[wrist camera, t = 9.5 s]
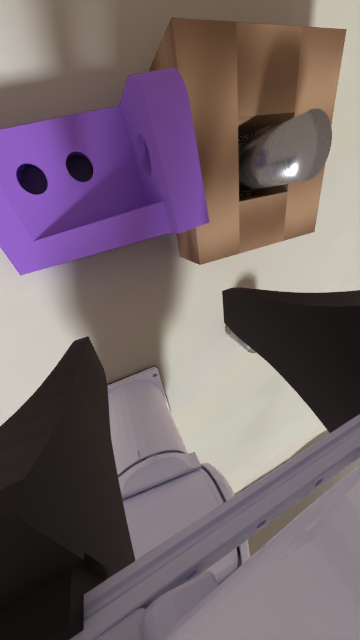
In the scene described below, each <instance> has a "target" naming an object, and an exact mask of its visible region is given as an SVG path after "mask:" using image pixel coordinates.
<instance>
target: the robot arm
mask: <svg viewBox="0 0 360 640" xmlns="http://www.w3.org/2000/svg"><path fill="white" fill-rule="evenodd" d="M222 294H223V310H224V323H225V324H226V325H227V326H228V328H229V329H230V330H231V331H232V332H233V333H234V334H235V335H236V336H237V337H238V338H239V339H241V340H242V341H243V342H244V343H245V344H247V345H248V346H249V347H250V348H252V349H253V350H254V351H255V352H257V353H258V354H259V355H260V356H261V357H263V358H264V359H265V360H266V361H267V362H268V363H269V364H271V365H272V366H273V367H274V369H275V370H276V371H277V372H278V373H279V374H280V375H281V376H282V377H283V378H284V379H285V380H286V381H287V382H288V383H289V384H290V385H291V386H292V387H293V389H294V390H295V391H296V392H297V393H298V394H299V395H300V397H301V398H302V399H303V400H304V401H305V402H306V404H307V405H308V406H309V407H310V408H311V409H312V411H313V412H314V413H315V414H316V416H317V417H318V418H319V420H320V421H321V422H322V423H323V425H324V426H325V427H326V428H327V430H328V431H329V432H330V434H328V435H327V436H325V437H324V438H322V439H321V440H319V441H318V442H316V443H315V444H313V445H312V446H310V447H308V448H307V449H305V450H304V451H302V452H301V453H299V454H298V455H296V456H295V457H293V458H292V459H290V460H289V461H287V462H286V463H284V464H282V465H281V466H279V467H278V468H276V469H275V470H273V471H272V472H270V473H269V474H267V475H266V476H264V477H263V478H261V479H260V480H258V481H257V482H255V483H253V484H252V485H250V486H249V487H247V488H246V489H244V490H243V491H241V492H240V493H238V494H237V495H234V492H233V491H232V489H231V487H230V485H229V483H228V482H227V480H226V479H225V478H224V476H223V475H222V474H221V473H220V472H219V471H218V470H217V469H215V468H214V467H213V466H212V465H211V464H209V463H203V464H200V462H199V460H198V458H197V456H196V454H195V452H193V453H189V454H188V453H187V450H186V448H185V446H184V444H183V441H182V439H181V437H180V434H179V432H178V430H177V428H176V425H175V423H174V421H173V418H172V416H171V412H170V409H169V406H168V402H167V399H166V395H165V392H164V389H163V385H162V382H161V378H160V375H159V372H158V369H157V368H156V367H152V368H149V369H147V370H144V371H142V372H139V373H137V374H135V375H132V376H130V377H127V378H125V379H122V380H120V381H117V382H115V383H112V384H110V385H108V386H107V382H106V377H105V372H104V368H103V366H102V364H101V362H100V360H99V358H98V356H97V354H96V352H95V350H94V347H93V345H92V343H91V341H90V339H89V337H85V338H82V339H79V340H76V341H74V342H73V343H72V345H71V346H70V347H69V349H68V350H67V352H66V353H65V354H64V356H63V357H62V359H61V360H60V361H59V363H58V364H57V366H56V367H55V368H54V370H53V371H52V372H51V373H50V375H49V376H48V377H47V378H46V380H45V381H44V382H43V383H42V385H41V386H40V387H39V388H38V389H37V390H36V392H35V393H34V394H33V395H32V396H31V397H30V398H29V399H28V400H27V401H26V402H25V403H24V404H23V405H22V406H21V408H20V409H19V410H18V411H17V412H16V413H15V414H13V415H12V416H11V417H10V418H9V419H8V420H7V421H6V422H5V423H4V424H3V425H2V426H0V640H360V465H358V466H357V467H356V468H355V469H353V470H352V471H351V472H350V473H348V474H347V475H346V476H345V477H343V478H342V479H341V480H340V481H338V482H337V483H336V484H335V485H334V486H332V487H331V488H330V489H329V490H327V492H325V493H324V494H323V495H321V496H320V497H319V498H318V499H317V500H316V501H315V502H313V503H312V504H311V505H310V506H309V507H307V508H306V509H305V510H304V511H303V512H302V513H300V514H299V515H298V516H297V517H296V518H295V519H294V520H292V521H291V522H290V523H289V524H288V525H287V526H286V527H284V528H283V529H282V530H281V531H280V532H279V533H278V534H277V535H275V536H274V537H273V538H272V539H271V540H270V541H269V542H267V543H266V544H265V545H264V546H263V547H262V548H261V549H259V550H258V551H257V552H256V553H255V554H254V555H253V556H252V557H250V553H249V547H248V539H249V538H250V537H252V536H253V535H254V534H256V533H257V532H258V531H260V530H261V529H263V528H264V527H265V526H267V525H268V524H269V523H271V522H272V521H273V520H275V519H276V518H277V517H279V516H280V515H282V514H283V513H284V512H286V511H287V510H288V509H290V508H291V507H292V506H294V505H295V504H297V503H298V502H299V501H301V500H302V499H303V498H305V497H306V496H307V495H309V494H310V493H311V492H313V491H314V490H315V489H317V488H318V487H320V486H321V485H322V484H324V483H325V482H326V481H328V480H329V479H331V478H332V477H333V476H335V475H336V474H337V473H339V472H340V471H341V470H343V469H344V468H345V467H347V466H348V465H350V464H351V463H352V462H354V461H355V460H356V459H358V458H359V457H360V290H358V291H347V292H330V293H294V292H279V291H268V290H259V289H249V288H230V289H227V290H224V291H222ZM154 374H155V375H154Z"/></svg>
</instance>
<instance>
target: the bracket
mask: <svg viewBox="0 0 360 640" xmlns="http://www.w3.org/2000/svg"><path fill="white" fill-rule="evenodd" d="M71 155H81V156H84V157H85V158H87V159H88V160H89V161H90V162H91V163H92V165H93V176H92V178H91V179H90V180H89V181H87V182H79V181H77V180H75V179H74V178H73V177H72V176H71V175H70V174H69V172H68V170H67V168H66V159H67V158H68V157H69V156H71ZM29 165H35V166H37V167H38V168H40V169H41V170H42V171H43V173H44V174H45V176H46V178H47V181H48V187H47V190H46V191H45V192H44V193H42V194H39V195H34V194H31V193H29V192H27V191H25V190H24V189H23V188H22V186H21V184H20V173H21V171H22V169H23V168H25V167H26V166H29ZM207 223H209V216H208V210H207V204H206V198H205V192H204V186H203V180H202V174H201V168H200V162H199V156H198V150H197V144H196V138H195V132H194V125H193V119H192V113H191V107H190V102H189V97H188V92H187V89H186V86H185V83H184V80H183V78H182V76H181V74H180V73H179V72H178V71H177V70H176V69H175V68H168V69H162V70H156V71H151V72H145V73H139V74H133V75H129V76H128V78H127V81H126V85H125V88H124V91H123V94H122V98H121V101H120V104H119V106H115V107H110V108H105V109H100V110H95V111H90V112H85V113H80V114H75V115H70V116H65V117H60V118H55V119H50V120H45V121H40V122H35V123H30V124H25V125H20V126H15V127H10V128H6V129H1V130H0V247H1V248H2V250H3V251H4V253H5V254H6V255H7V257H8V258H9V260H10V261H11V262H12V264H13V265H14V267H15V268H16V269H17V271H18V272H19V274H20V275H23V274H27V273H30V272H34V271H37V270H41V269H44V268H48V267H51V266H55V265H59V264H62V263H66V262H69V261H73V260H76V259H80V258H83V257H87V256H90V255H94V254H97V253H101V252H104V251H108V250H111V249H115V248H118V247H122V246H125V245H129V244H133V243H136V242H140V241H143V240H147V239H150V238H154V237H157V236H161V235H164V234H168V233H171V232H172V233H178V234H179V233H182V232H185V231H187V230H190V229H193V228H196V227H198V226H201V225H204V224H207Z"/></svg>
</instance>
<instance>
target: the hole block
mask: <svg viewBox="0 0 360 640" xmlns="http://www.w3.org/2000/svg"><path fill="white" fill-rule="evenodd" d="M345 35H346V29H334V28H319V27H303V26H288V25H273V24H257V23H242V22H227V21H211V20H196V19H181V18H172V19H171V21H170V23H169V26H168V28H167V30H166V33H165V35H164V37H163V40H162V42H161V44H160V46H159V49H158V51H157V53H156V56H155V58H154V60H153V63H152V65H151V67H150V72H151V71H156V70H162V69H168V68H175V69H176V70H177V71H178V72H179V73H180V74H181V76H182V78H183V80H184V83H185V86H186V89H187V92H188V97H189V102H190V107H191V113H192V119H193V125H194V132H195V138H196V144H197V150H198V156H199V162H200V168H201V174H202V180H203V186H204V192H205V198H206V204H207V210H208V216H209V223H207V224H204V225H201V226H198V227H196V228H193V229H190V230H187V231H185V232H182V233H179V234H178V233H176V234H177V241H178V247H179V253H180V257H182V258H185V259H187V260H190V261H192V262H194V263H197V264H199V265H201V264H204V263H208V262H211V261H215V260H218V259H222V258H225V257H229V256H232V255H236V254H239V253H242V252H246V251H249V250H253V249H256V248H260V247H263V246H267V245H270V244H274V243H277V242H281V241H284V240H288V239H291V238H294V237H298V236H301V235H305V234H308V233H312V232H314V231H315V224H316V218H317V212H318V205H319V199H320V193H321V186H322V180H323V174H324V167H325V164H324V166H323V167H322V169H321V170H320V172H319V173H318V174H317V175H316V176H315V177H313V178H312V179H310V180H308V181H302V182H296V183H290V184H284V185H278V186H272V187H266V188H261V189H255V190H253V196H251V197H247V198H242V199H239V164H238V134H247V133H254V137H255V136H257V135H259V134H261V133H263V132H265V131H267V130H269V129H271V128H274V127H276V126H278V125H280V124H282V123H284V122H286V121H288V120H290V119H292V118H294V117H296V116H298V115H301V114H303V113H305V112H307V111H309V110H311V109H315V108H318V109H321V110H323V111H324V112H325V113H326V114H327V115H328V117H329V120H330V123H332V117H333V111H334V104H335V98H336V92H337V85H338V79H339V73H340V66H341V60H342V54H343V47H344V41H345Z"/></svg>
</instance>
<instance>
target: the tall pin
mask: <svg viewBox="0 0 360 640" xmlns="http://www.w3.org/2000/svg"><path fill="white" fill-rule="evenodd" d="M331 140H332V129H331V123H330V120H329V117H328V115H327V114H326V113H325V112H324V111H323V110H321V109H318V108H315V109H311V110H309V111H307V112H305V113H303V114H301V115H298V116H296V117H294V118H292V119H290V120H288V121H286V122H284V123H282V124H280V125H278V126H276V127H274V128H271V129H269V130H267V131H265V132H263V133H261V134H259V135H257V136H255V137H253V138H251V139H249V140H246V141H244V142H242V143H240V144H238V164H239V192H243V191H249V190H255V189H261V188H266V187H272V186H278V185H284V184H290V183H296V182H302V181H308V180H310V179H312V178H313V177H315V176H316V175H317V174H318V173H319V172H320V170H321V169H322V167H323V166H324V164H325V162H326V160H327V157H328V154H329V151H330V147H331Z"/></svg>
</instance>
